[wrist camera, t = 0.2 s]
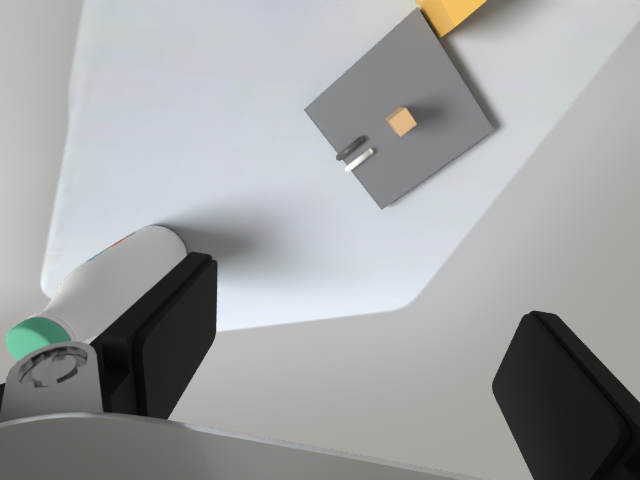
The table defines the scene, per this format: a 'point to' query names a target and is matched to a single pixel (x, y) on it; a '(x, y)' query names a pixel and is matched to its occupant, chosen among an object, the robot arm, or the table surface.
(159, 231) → the milk bottle
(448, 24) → the mustard yellow cube
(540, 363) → the robot arm
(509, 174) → the table surface
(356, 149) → the plate
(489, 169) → the table surface
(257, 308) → the table surface
